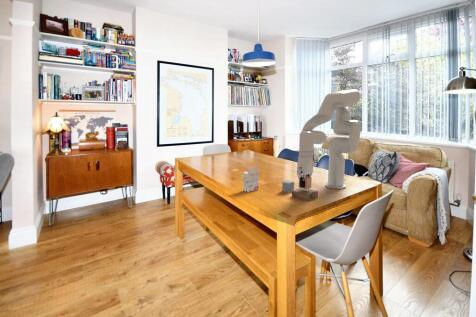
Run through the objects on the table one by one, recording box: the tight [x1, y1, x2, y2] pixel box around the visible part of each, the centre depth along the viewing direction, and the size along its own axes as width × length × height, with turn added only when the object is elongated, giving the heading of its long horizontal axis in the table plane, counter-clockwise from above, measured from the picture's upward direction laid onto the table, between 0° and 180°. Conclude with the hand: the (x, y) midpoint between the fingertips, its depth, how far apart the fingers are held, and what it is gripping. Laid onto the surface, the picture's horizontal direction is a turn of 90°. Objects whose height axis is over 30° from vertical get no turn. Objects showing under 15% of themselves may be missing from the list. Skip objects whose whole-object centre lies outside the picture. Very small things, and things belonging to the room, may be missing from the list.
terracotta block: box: [298, 175, 313, 189], centre depth 141 cm, size 5×5×6 cm
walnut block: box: [291, 187, 319, 202], centre depth 142 cm, size 10×10×4 cm
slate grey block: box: [281, 180, 295, 194], centre depth 153 cm, size 5×5×6 cm
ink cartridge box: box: [242, 166, 259, 193], centre depth 155 cm, size 9×5×15 cm, turn 126°
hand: (305, 185), depth 141 cm, fingers closed on terracotta block, 4 cm apart
